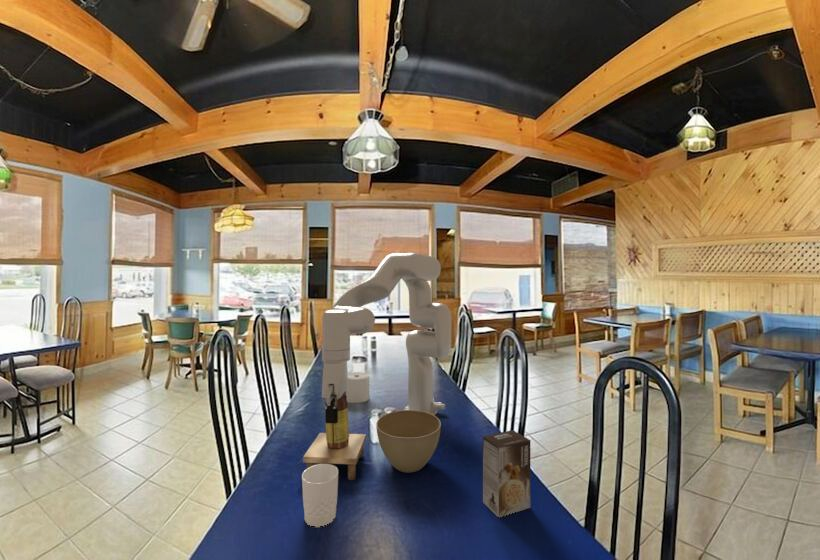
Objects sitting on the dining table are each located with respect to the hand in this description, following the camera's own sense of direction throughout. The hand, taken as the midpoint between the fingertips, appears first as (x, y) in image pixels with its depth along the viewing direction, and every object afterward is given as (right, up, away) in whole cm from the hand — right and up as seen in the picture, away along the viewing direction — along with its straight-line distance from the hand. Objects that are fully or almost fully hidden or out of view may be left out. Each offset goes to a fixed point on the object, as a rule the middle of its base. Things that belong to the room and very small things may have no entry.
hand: (336, 415), depth 102 cm
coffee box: (+43, -15, -16) cm, 48 cm away
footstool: (0, -14, 0) cm, 14 cm away
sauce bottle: (0, -9, 0) cm, 9 cm away
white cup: (+1, -15, -21) cm, 26 cm away
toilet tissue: (-3, -13, +53) cm, 54 cm away
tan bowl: (+20, -15, +1) cm, 25 cm away
